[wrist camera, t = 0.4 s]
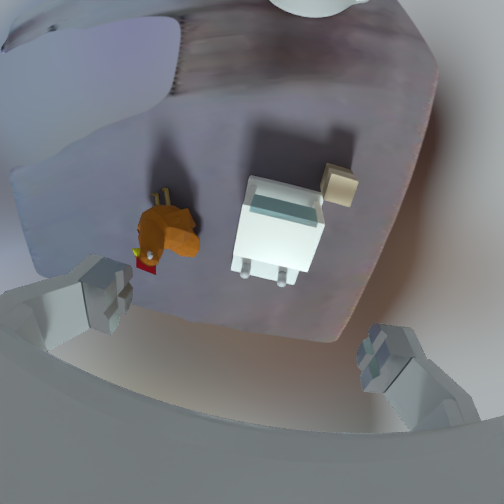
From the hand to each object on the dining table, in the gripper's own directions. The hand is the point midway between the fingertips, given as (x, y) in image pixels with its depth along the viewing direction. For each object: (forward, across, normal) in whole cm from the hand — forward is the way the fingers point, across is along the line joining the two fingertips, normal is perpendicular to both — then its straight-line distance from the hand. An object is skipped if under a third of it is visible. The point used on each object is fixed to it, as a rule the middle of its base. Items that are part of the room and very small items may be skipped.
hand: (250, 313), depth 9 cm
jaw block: (+37, -10, 0) cm, 38 cm away
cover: (+36, -3, +9) cm, 37 cm away
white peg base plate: (+38, -3, +12) cm, 40 cm away
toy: (+39, +14, +14) cm, 44 cm away
